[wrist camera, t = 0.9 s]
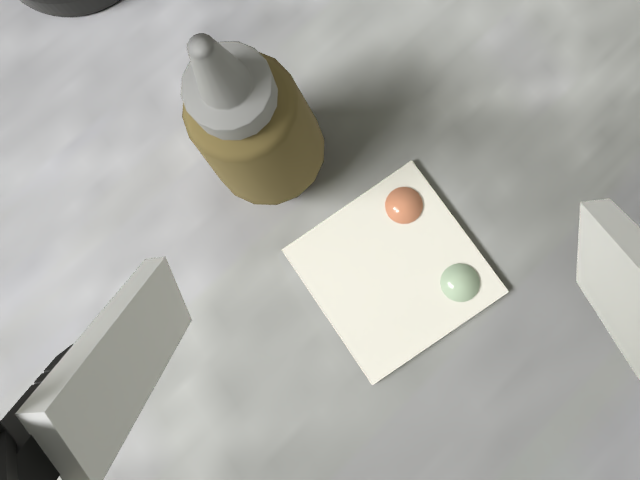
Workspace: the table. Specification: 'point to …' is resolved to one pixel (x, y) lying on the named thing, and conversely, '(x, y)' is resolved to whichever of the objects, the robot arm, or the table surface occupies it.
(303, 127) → the squeeze bottle
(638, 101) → the table surface
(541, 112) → the table surface
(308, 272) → the card
